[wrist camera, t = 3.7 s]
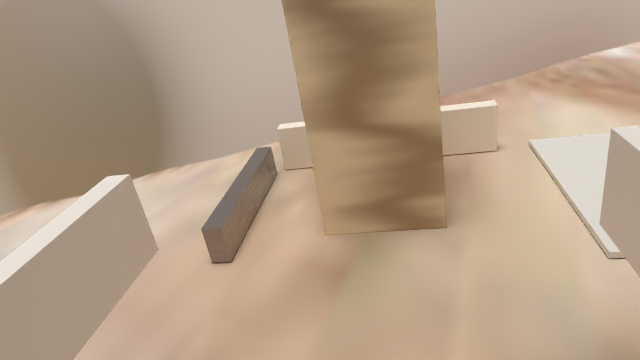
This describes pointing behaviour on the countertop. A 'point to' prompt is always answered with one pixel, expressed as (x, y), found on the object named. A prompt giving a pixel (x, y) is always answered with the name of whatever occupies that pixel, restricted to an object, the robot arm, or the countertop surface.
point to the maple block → (371, 111)
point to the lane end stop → (239, 206)
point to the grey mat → (580, 177)
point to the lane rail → (456, 123)
